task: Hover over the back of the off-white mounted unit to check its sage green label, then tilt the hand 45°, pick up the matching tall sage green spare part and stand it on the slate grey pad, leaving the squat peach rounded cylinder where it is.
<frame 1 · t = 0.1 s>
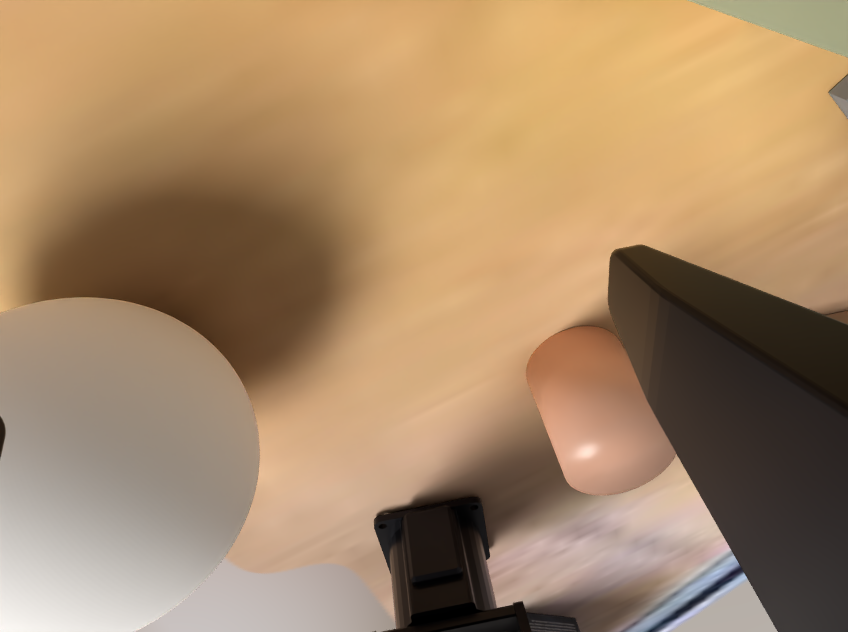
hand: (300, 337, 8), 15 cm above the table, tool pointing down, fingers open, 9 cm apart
decorative ball: (132, 353, 26), on the table
peach rounded cylinder: (574, 365, 30), on the table
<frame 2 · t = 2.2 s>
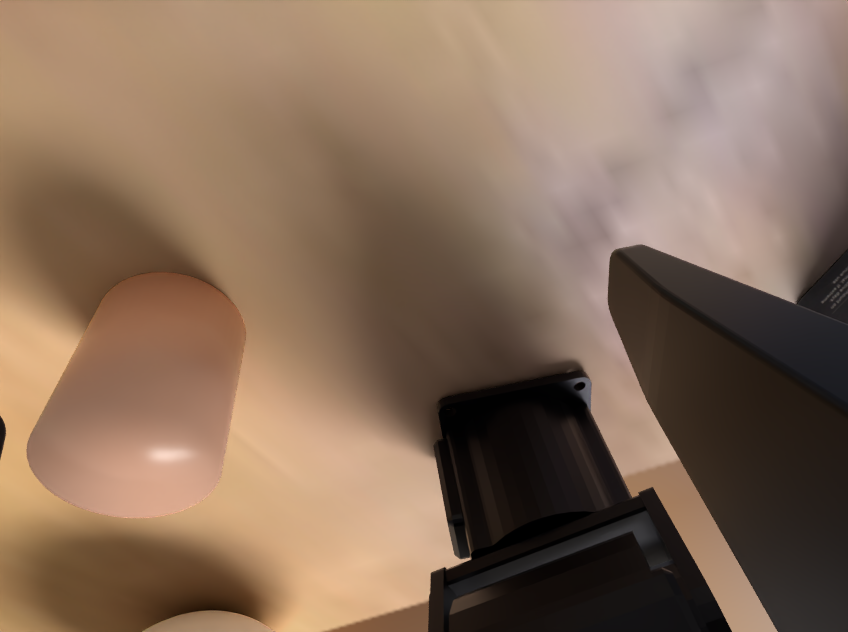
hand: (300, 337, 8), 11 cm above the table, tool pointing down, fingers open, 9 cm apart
decorative ball: (212, 620, 33), on the table
peach rounded cylinder: (173, 331, 21), on the table
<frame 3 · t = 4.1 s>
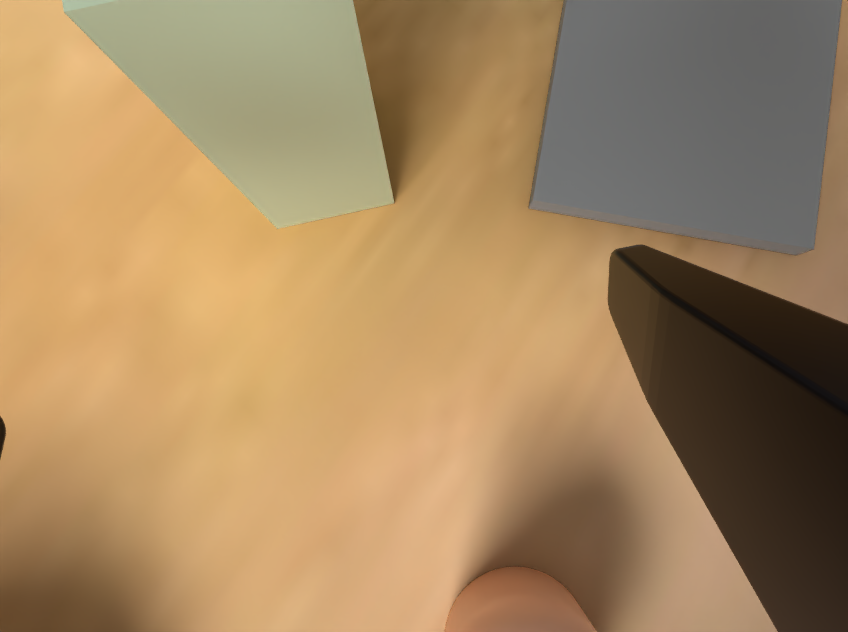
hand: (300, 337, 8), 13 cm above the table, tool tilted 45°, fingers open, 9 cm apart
sage green spare part: (324, 159, 23), on the table
slate grey pad: (679, 105, 23), on the table
when the fingers open (9 cm above the table, at t = 11.2 s): sage green spare part drops 1 cm, resting on slate grey pad.
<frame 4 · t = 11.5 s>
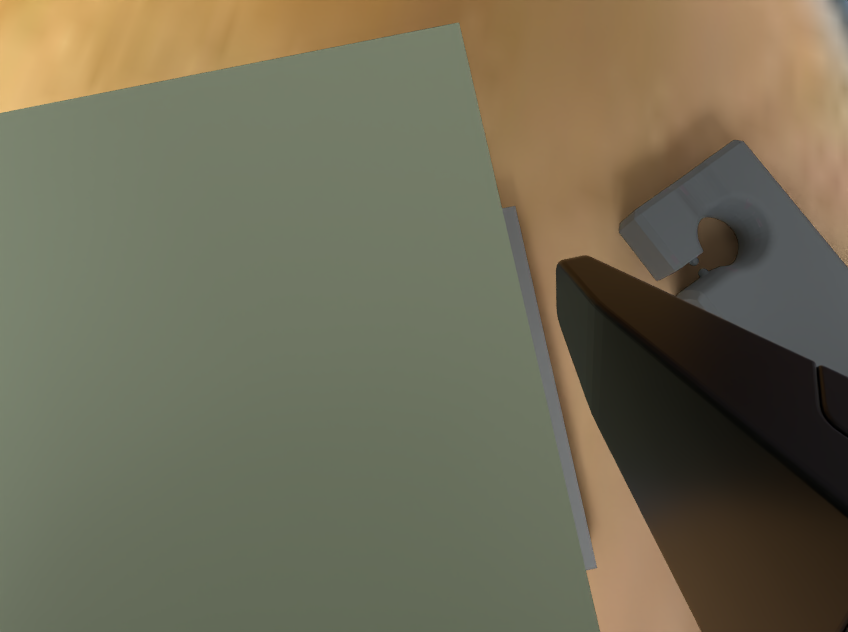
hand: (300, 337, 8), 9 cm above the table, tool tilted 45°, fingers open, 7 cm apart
sage green spare part: (374, 415, 16), point 1 cm above the table, touching slate grey pad
slate grey pad: (377, 414, 17), on the table
bracket: (765, 332, 18), on the table
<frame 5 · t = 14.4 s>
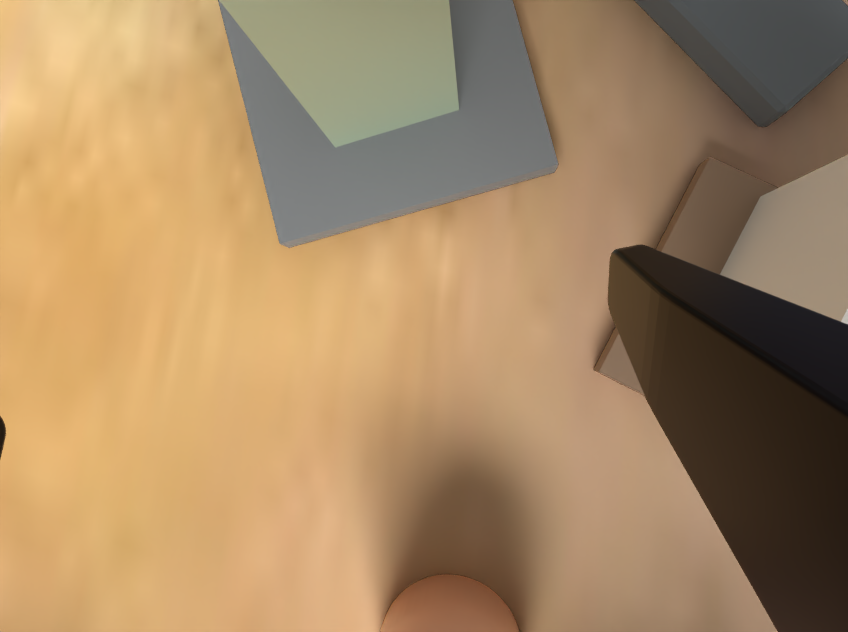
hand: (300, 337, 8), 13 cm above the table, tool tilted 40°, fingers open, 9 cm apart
sage green spare part: (380, 67, 21), point 1 cm above the table, touching slate grey pad
slate grey pad: (384, 80, 22), on the table
mounted unit: (837, 360, 20), on the table
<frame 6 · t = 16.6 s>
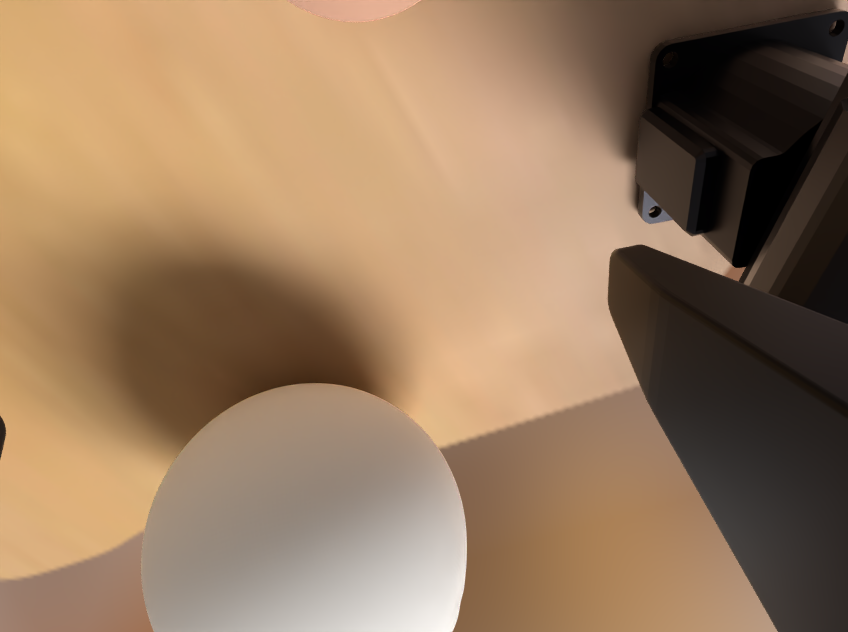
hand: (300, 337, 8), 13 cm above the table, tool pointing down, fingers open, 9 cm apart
decorative ball: (315, 421, 28), on the table
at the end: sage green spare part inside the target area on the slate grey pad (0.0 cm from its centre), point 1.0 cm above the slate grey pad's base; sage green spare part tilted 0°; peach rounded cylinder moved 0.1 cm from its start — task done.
